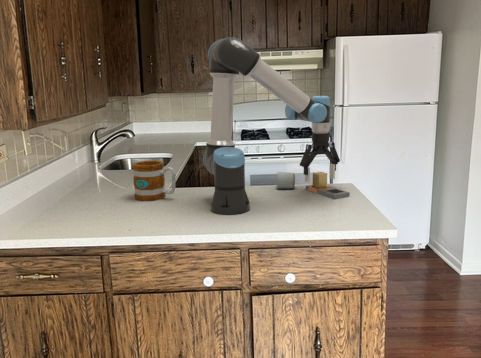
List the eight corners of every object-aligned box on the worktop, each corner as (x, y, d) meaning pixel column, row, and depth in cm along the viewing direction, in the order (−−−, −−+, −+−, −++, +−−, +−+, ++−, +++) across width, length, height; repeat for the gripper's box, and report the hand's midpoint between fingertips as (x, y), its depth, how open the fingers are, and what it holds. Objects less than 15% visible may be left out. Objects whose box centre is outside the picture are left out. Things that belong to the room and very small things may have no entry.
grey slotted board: (334, 199, 192) (334, 194, 191) (305, 189, 209) (305, 185, 208) (349, 196, 195) (349, 191, 195) (320, 187, 212) (320, 183, 212)
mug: (128, 200, 198) (125, 165, 195) (145, 192, 210) (143, 159, 207) (168, 203, 191) (166, 167, 187) (184, 195, 203) (182, 162, 200)
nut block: (318, 192, 203) (318, 174, 202) (312, 190, 207) (312, 172, 206) (326, 191, 205) (327, 173, 204) (320, 189, 209) (320, 171, 208)
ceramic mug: (295, 190, 208) (295, 173, 207) (276, 190, 209) (276, 173, 207) (293, 185, 219) (293, 169, 217) (276, 185, 219) (276, 169, 218)
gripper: (302, 135, 192) (301, 185, 196) (348, 130, 203) (347, 178, 208) (291, 133, 198) (291, 182, 203) (337, 129, 210) (336, 175, 214)
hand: (319, 180), depth 205 cm, fingers open, 13 cm apart
